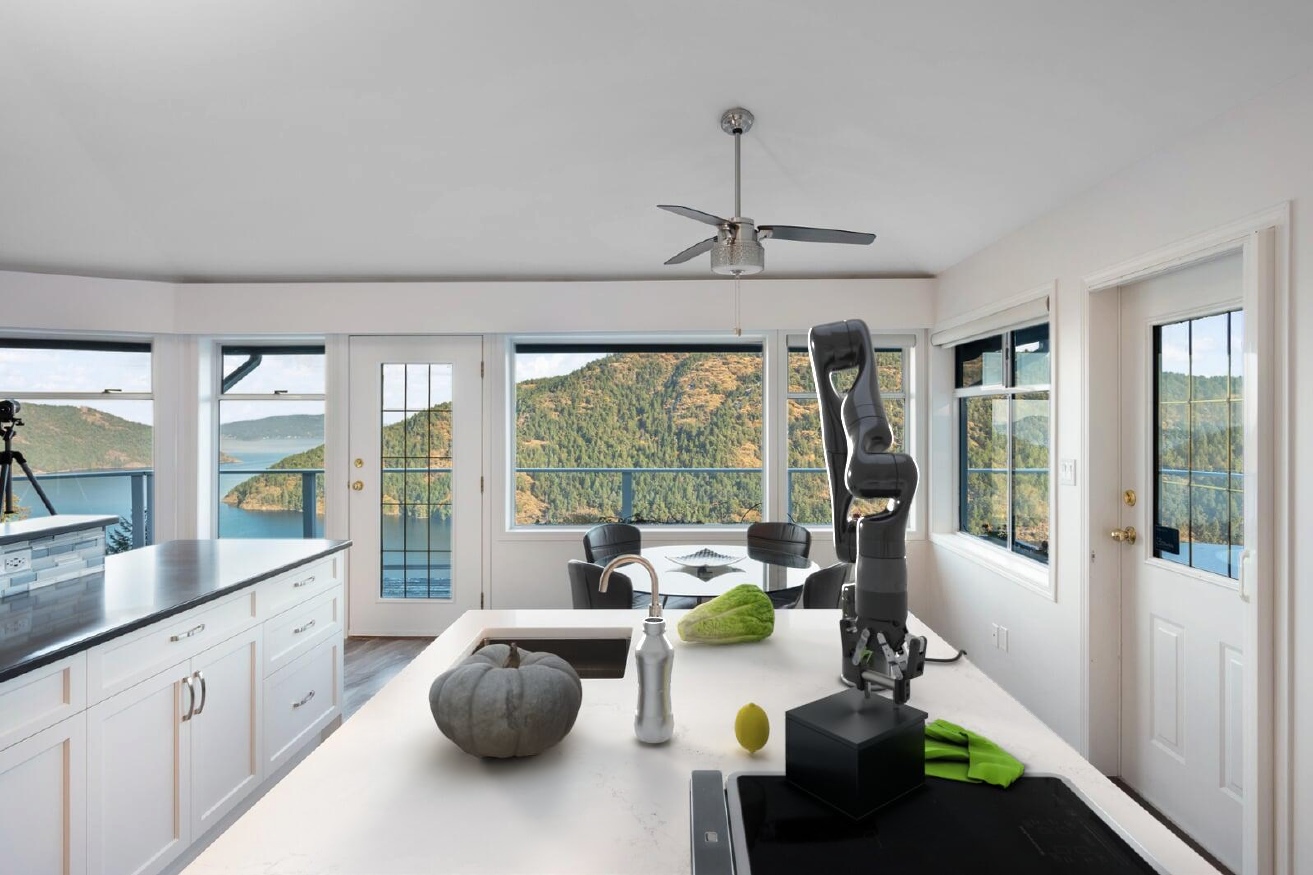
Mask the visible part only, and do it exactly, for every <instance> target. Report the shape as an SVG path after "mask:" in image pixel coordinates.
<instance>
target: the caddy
mask: <svg viewBox="0 0 1313 875" xmlns="http://www.w3.org/2000/svg"><path fill="white" fill-rule="evenodd" d="M784 723H785V724H784V727H785V728H784V759H785V760H784V761H785V762H784V771H785V772H784V780H785V781H784V784H785V785H786V786H788V787H790V788H791V789H793V790H795V791H796V792H798V793H800V794H802V795H804V796H805V797H807V798H809V799H811V800H812V801H814V802H815V803H817V804H818V805H821V806H823V807H824V808H826V809H828V810H830V811H831V812H833V813H835V814H837V815H838V816H840V817H842V818H843V819H845V820H847V821H848V822H850V823H852V824H854V825H856V826H859V825H861V824H863V823H865V822H866V821H868V820H870V819H872V818H873V817H875V816H877V815H879V814H880V813H882V812H884V811H886V810H888V809H889V808H891V807H893V806H895V805H896V804H898V803H900V802H902V801H904V800H905V799H908V798H909V797H911V796H913V795H914V794H915V795H916V793H918V792H920V791H922V790H923V789H925V788H926V775H925V725H926V719H925V720H923V721H921V722H918V723H916V724H914V725H912V726H909V727H907V728H905V729H903V730H900V731H898V732H896V733H894V734H892V735H889V736H887V737H885V738H883V739H880V740H878V741H876V742H874V743H871V744H869V745H867V746H865V747H862V748H860V749H858V750H856V749H854V748H852V747H850V746H848V745H845V744H843V743H841V742H839V741H837V740H835V739H832V738H830V737H828V736H826V735H824V734H822V733H819V732H817V731H815V730H813V729H811V728H809V727H806V726H804V725H802V724H800V723H798V722H796V721H794V720H791V719H789V718H787V717H785V716H784Z"/></svg>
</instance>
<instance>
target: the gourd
mask: <svg viewBox="0 0 1313 875" xmlns="http://www.w3.org/2000/svg"><path fill="white" fill-rule="evenodd" d="M582 700H583V686H582V682H581V678H580V676H579V674H578V673H577V671H576V670H575V668H573V666H571V664H570V663H569V662H568V661H566V660H565V659H563V658H561V657H560V656H559V655H557V654H555V653H550V652H546V651H535V652H532V651H529V650H526V649H523V648H521V647H518V645H517V643H516V642H511V643H510V645H508V644H505V643H498V644H497V643H495V644H489V645H486V646H483V647H482V648H480V649H479V650H477V651H475V652H474V653H473V654H471V655H470V656H467V657H466V658H464V659H463V660H462V661H461V662H460V663H458V664H457V666H456V667H453V668H451V669H448V670H446V671H444V672H443V673H441V674H439V675H438V676H437V677H436V678H435V679H434V680H433V682H432V683H431V686H430V688H429V692H428V703H429V708H430V712H431V714H432V718H433V719H434V722H435V725H436V726H437V728H438V730H439V731H440V733H442V734H443V736H444V737H446V738H447V739H449V740H450V741H452V743H454V744H455V745H456V747H458V748H459V749H460V750H462V751H464V752H465V753H466V754H469V755H472V756H474V757H477V758H487V757H490V758H491V757H492V758H499V759H507V758H510V757H514V756H515V757H518V758H520V757H525V756H536V755H540V754H542V753H545V751H547V750H549V749H550V748H552V747H555V745H557V744H558V743H560V742H561V741H562V740H564V739H565V737H566V736H568V734H569V733H570V732H571V731H572V729H573V727H574V725H575V723H576V721H577V719H578V715H579V713H580V712H579V711H580V709H581V706H582Z"/></svg>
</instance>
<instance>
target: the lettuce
mask: <svg viewBox="0 0 1313 875" xmlns="http://www.w3.org/2000/svg"><path fill="white" fill-rule="evenodd" d="M775 614H776V613H775V608H774V604H773V602H772V601H771V599H770V597H769V596H768V595H767V593H766V592H764V590H762V589H761V588H760V587H759V586H758V585H757V584H752V583H751V584H750V583H741V584H739V585H736V586H734V587H733V588H731V589H730V590H728V591H726V592H723V593H722V594H720V595H718V596H716V597H714V598H713V599H711V600H709V601H707V602H704V603H701V604H698V605H697V606H695V607H694V608H693V609H691V610H690V611H689V612H688V613H686V614H684V615H683V616H682V617H681V618H680V619H679V620H678V621H677V624H676V628H677V633H678V635H679V636H678V637H679V638H680V640H681V641H683V642H688V643H699V644H700V643H701V644H707V645H730V644H731V645H733V644H741V643H758V642H761V641H763V640H765V639H767V638H769V637H771V636H772V634H773V633H774V630H775V622H776V615H775Z"/></svg>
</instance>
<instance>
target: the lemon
mask: <svg viewBox="0 0 1313 875" xmlns="http://www.w3.org/2000/svg"><path fill="white" fill-rule="evenodd" d="M770 730H771V727H770V722H769V718H768V715H767V713H766V711H765V710H764V709H763V708H762V707H761V706H760V705H758V704H755V702H749V703H748V704H745V705H743V706H742V707H741V708H740V709H738V711H737V713H736V716H735V720H734V735H735V738H736V740H737V742H738V744H739V746H741V747H742V748H743V749H745V750H747V751H748V752H749V753H750V754H754V753H756V752H757V751H759V750H761V749H763V748H764V747H765V746H766V744H767V743H768V741H769V738H770Z"/></svg>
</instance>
